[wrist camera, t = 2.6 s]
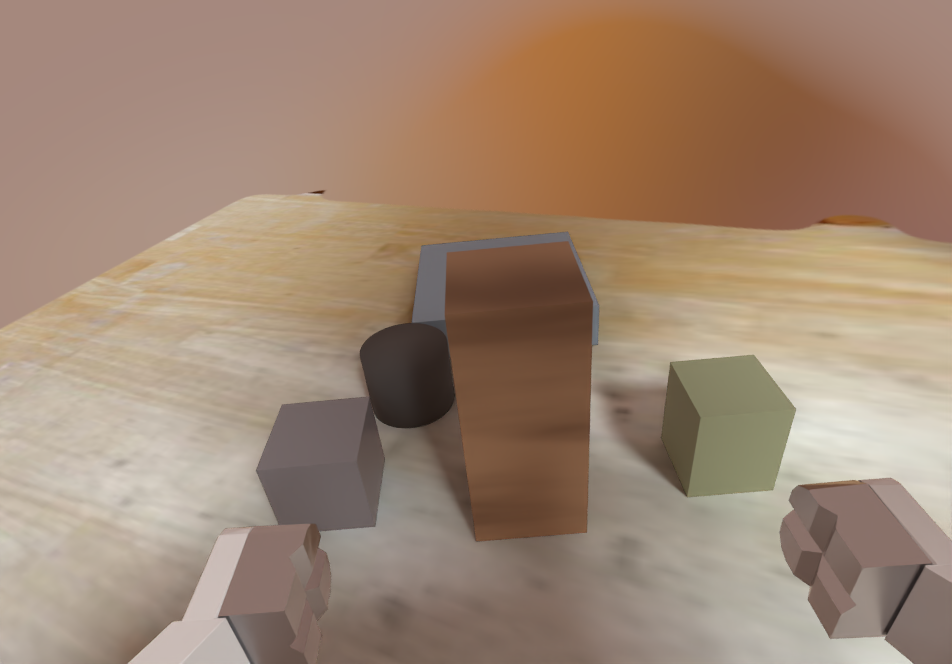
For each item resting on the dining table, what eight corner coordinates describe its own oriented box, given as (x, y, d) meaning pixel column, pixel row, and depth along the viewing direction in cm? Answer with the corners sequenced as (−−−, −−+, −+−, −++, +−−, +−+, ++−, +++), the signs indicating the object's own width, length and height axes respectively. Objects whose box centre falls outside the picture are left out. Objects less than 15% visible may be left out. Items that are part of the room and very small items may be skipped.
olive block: (661, 438, 30) (670, 362, 27) (737, 431, 30) (753, 354, 27) (687, 497, 27) (700, 417, 24) (772, 490, 26) (796, 409, 24)
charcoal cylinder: (414, 366, 37) (405, 315, 35) (471, 393, 34) (465, 339, 32) (356, 407, 34) (341, 353, 32) (413, 440, 31) (401, 384, 29)
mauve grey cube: (304, 466, 31) (282, 404, 28) (385, 459, 30) (369, 396, 28) (283, 535, 27) (256, 470, 24) (375, 527, 27) (356, 461, 24)
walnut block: (473, 460, 30) (446, 252, 23) (568, 452, 30) (568, 241, 23) (476, 541, 25) (444, 315, 19) (586, 532, 25) (593, 301, 19)
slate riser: (426, 278, 48) (421, 245, 46) (567, 264, 48) (567, 231, 46) (418, 360, 38) (411, 322, 36) (597, 344, 37) (599, 305, 36)
